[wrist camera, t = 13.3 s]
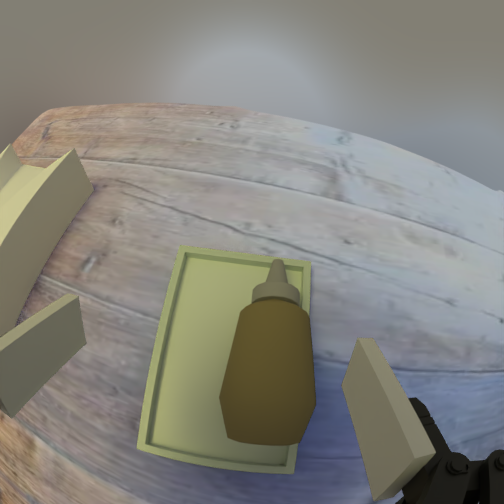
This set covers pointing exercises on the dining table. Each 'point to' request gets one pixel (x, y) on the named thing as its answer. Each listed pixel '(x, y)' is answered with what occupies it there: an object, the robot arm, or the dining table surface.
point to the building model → (33, 222)
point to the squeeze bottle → (270, 367)
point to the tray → (207, 360)
